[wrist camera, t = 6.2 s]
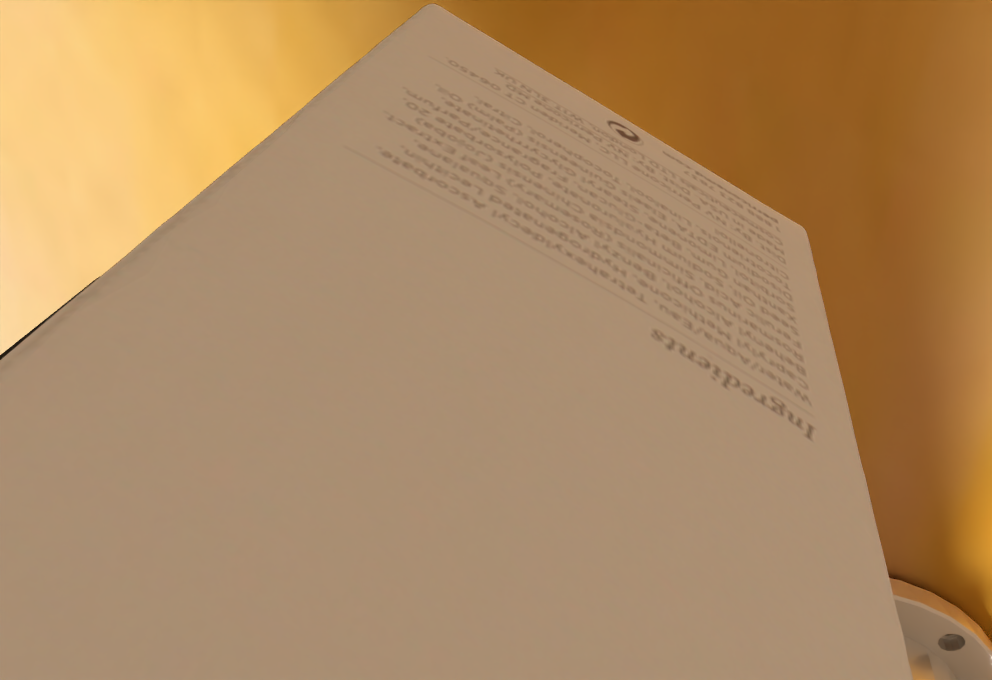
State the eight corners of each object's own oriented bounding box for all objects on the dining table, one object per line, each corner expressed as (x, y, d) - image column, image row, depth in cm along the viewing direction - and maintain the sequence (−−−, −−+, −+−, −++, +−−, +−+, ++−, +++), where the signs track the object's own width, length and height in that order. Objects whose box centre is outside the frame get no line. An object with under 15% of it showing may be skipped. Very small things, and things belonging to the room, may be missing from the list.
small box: (433, -13, 11) (-649, 779, 2) (818, 224, 12) (1216, 1616, 3) (223, 427, 15) (-437, 1311, 6) (514, 584, 16) (281, 1596, 7)
